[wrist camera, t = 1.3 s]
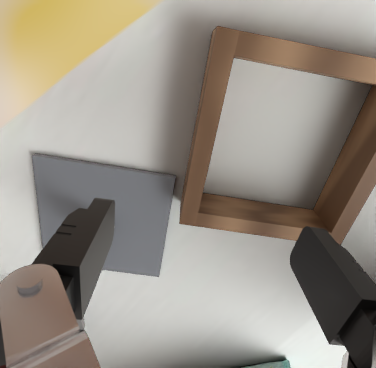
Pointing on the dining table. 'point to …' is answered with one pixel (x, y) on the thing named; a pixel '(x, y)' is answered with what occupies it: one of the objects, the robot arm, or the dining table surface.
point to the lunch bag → (272, 365)
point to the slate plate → (124, 207)
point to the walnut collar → (341, 173)
